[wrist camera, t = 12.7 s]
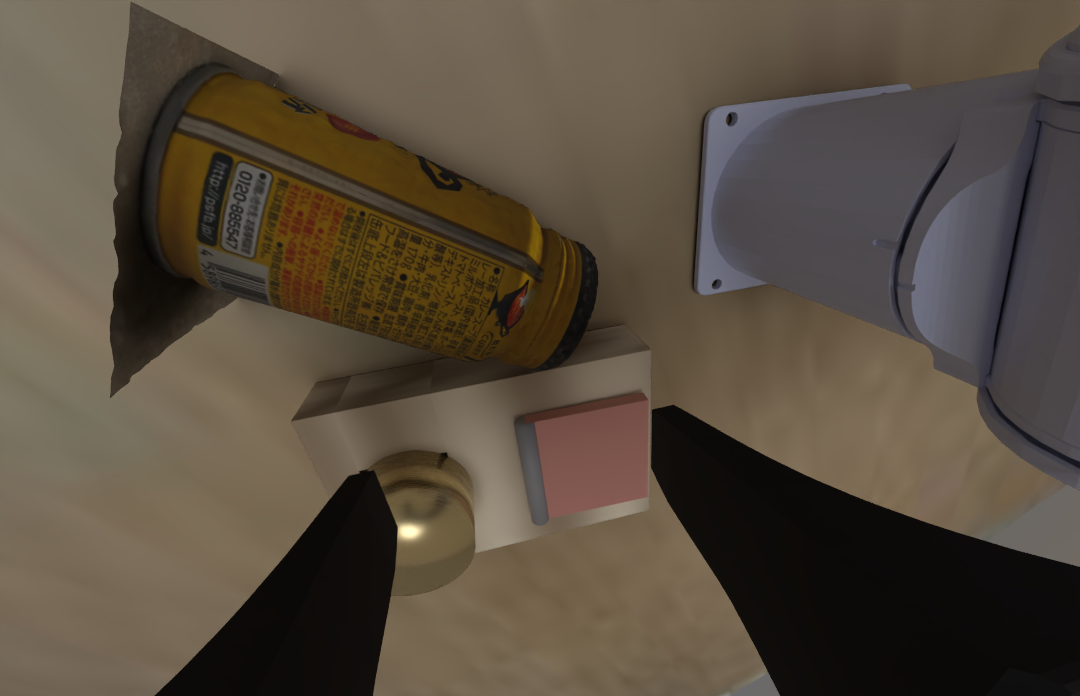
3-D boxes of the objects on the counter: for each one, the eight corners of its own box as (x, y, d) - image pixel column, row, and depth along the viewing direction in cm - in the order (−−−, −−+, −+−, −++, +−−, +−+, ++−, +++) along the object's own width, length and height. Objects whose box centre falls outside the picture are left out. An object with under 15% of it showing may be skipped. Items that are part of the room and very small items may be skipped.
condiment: (271, 70, 13) (575, 218, 17) (231, 297, 16) (503, 374, 20) (112, -8, 7) (654, 256, 11) (90, 395, 9) (533, 476, 14)
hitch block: (625, 324, 20) (651, 349, 17) (628, 471, 24) (649, 509, 21) (315, 382, 18) (290, 421, 15) (381, 529, 22) (370, 579, 20)
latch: (643, 392, 18) (651, 403, 17) (643, 488, 20) (649, 501, 19) (512, 417, 17) (515, 430, 16) (530, 512, 20) (533, 527, 19)
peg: (478, 417, 20) (485, 505, 15) (463, 493, 22) (465, 593, 17) (371, 409, 19) (338, 502, 14) (365, 490, 21) (335, 598, 16)
